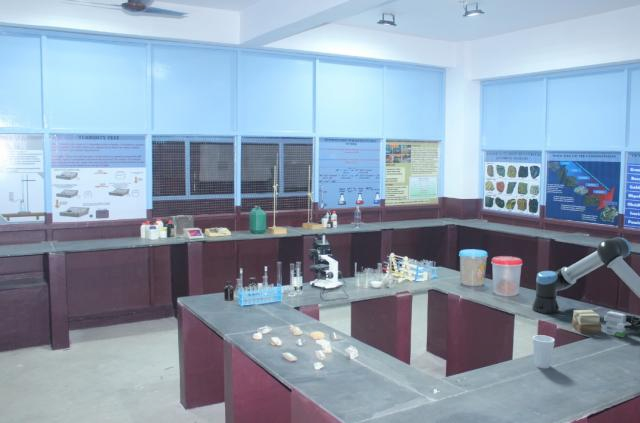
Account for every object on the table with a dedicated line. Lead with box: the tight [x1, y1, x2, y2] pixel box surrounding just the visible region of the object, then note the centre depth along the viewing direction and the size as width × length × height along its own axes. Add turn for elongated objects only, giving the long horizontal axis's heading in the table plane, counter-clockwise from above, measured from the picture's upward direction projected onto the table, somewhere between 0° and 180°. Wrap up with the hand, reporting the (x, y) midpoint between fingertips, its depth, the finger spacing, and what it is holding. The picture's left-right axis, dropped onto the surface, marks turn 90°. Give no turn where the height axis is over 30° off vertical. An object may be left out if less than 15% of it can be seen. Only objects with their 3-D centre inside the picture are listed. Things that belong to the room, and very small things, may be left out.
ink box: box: [605, 310, 627, 338], centre depth 301 cm, size 9×5×12 cm, turn 43°
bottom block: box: [571, 317, 602, 334], centre depth 310 cm, size 11×11×5 cm
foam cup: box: [532, 334, 555, 369], centre depth 261 cm, size 10×9×13 cm
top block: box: [572, 309, 601, 325], centre depth 309 cm, size 10×10×5 cm
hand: (610, 322), depth 301 cm, fingers open, 13 cm apart
